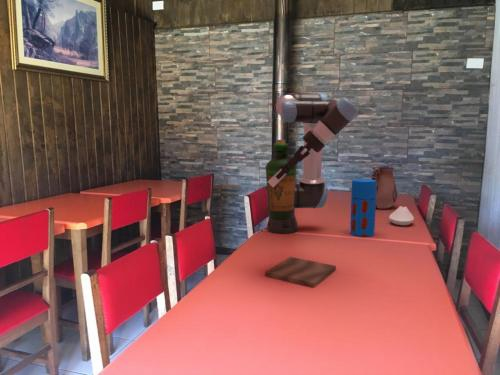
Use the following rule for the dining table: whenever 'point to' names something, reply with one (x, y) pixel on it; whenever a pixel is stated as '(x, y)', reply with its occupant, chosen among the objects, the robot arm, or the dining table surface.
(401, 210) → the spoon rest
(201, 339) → the dining table surface
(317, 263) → the walnut board
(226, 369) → the dining table surface
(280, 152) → the bottle
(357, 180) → the thermos
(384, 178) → the ceramic pitcher
